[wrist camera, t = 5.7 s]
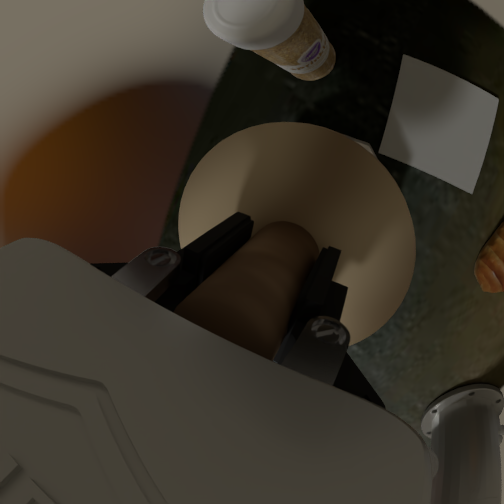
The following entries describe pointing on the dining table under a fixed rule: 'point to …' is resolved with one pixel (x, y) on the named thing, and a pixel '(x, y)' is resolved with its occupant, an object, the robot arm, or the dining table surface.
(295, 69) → the sprinkles bottle
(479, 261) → the pastry
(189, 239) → the lid
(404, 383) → the dining table surface
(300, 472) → the robot arm
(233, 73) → the dining table surface
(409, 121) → the mat
